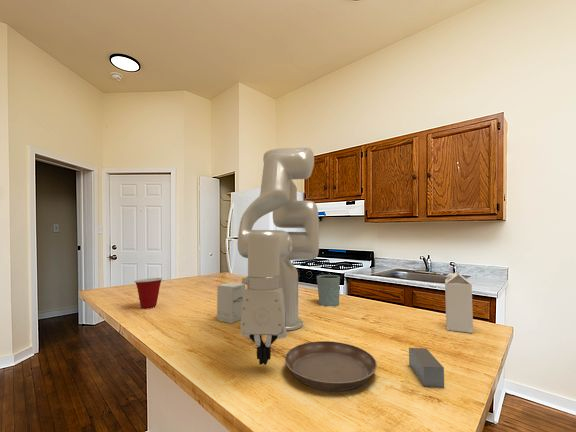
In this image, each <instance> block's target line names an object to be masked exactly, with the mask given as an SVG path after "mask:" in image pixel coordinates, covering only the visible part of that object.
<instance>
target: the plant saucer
mask: <svg viewBox="0 0 576 432" xmlns="http://www.w3.org/2000/svg"><path fill="white" fill-rule="evenodd" d="M284 362H285V364H286V367H287V368H288V370H289V371H290V373H292V375H293V376H294V377H295V378H296V379H298V380H299V382H301V383H303V384H304V385H307V386H308V387H311V388H314V389H316V390H317V389H318V390H323V391H328V390H330V391H329V392H332V391H333V392H341V391H343V392H344V391H349V390H352V389H353V390H354V389H356V388H358V387H360V386H363V385H364V384H365V383H366V382H368V381H369V380H370V379H371V377H373V375H374V374H375V372H376V370H377V368H378V363H377V361H376V359H375V357H374V356H373V355H372V354H371V353H369V351H366V350H364V349H363V348H360V347H359V346H355V345H353V344H348V343H344V342H338V341H328V340H327V341H326V340H325V341H324V340H321V341H319V340H318V341H310V342H306V343H305V342H304V343H302V344H298V345H296V346H294V347H292V348H290V350H288V351H287V352H286V354H285V357H284Z"/></svg>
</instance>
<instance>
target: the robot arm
mask: <svg viewBox="0 0 576 432" xmlns="http://www.w3.org/2000/svg"><path fill="white" fill-rule="evenodd" d="M314 166H315V154H314V152H313V150H312V149H311V147H289V148H288V147H284V148H283V147H282V148H273V149H269V150H266V152H264V154H263V168H262V175H261V184H260V193H259V196H258V197H256V198H255V200H253V202H251V203H250V204H249V205H248V207H246V209H245V211H244V212H243V214H242V216H241V218H240V222H239V227H238V233H237V234H238V235H237V251H238V253H239V255H240V256H241V257H242V258H245V259H247V276H246V277H241V284H245V286H246V287H247V288H246V287H245V290H244V294H243V300H242V310H241V320H240V335H241V337H245V338H247V339H248V338H249V340H251V341H252V342H253V343H254V345H255V347H256V359H257V360H259V361H258V363H259V364H258V365H263V366H266V365H267V363H268V361H269V360H271V356H272V353H271V352H272V351H271V349H272V344H273V343H275V341H277V340H281V339H285V338H286V337H287V331H294V330H299V329H301V328H302V327H303V326H304V320H302V319H301V318H299V272H298V270H297V268H296V266H295V265H294V264H293V263H292V262H291V261H304V260H305V261H309V260H310V261H312V260H315V259H317V257H318V256H319V251H320V238H319V237H320V236H319V235H320V233H319V231H320V230H319V228H320V227H319V225H320V223H319V221H320V220H319V209H318V206H317V204H316V203H315V202H314V201H313V200H298V197H297V196H298V194H297V193H298V192H297V191H298V189H297V185H296V183H295V182H294V181H293V180H307V179H309V178H310V177H311V176H312V174H313V170H314ZM270 213H272V222H273V225H274V226H275V227H276V228H280V229H281V230H280V229H253V227H254V226H255V223H257V222H258V220H260V219H261V218H262V217H264V216H266V215H268V214H270ZM282 228H283V229H304V230H305V231H285V230H282ZM263 336H266V337H265V342H264V340H263Z"/></svg>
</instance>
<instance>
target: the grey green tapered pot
mask: <svg viewBox="0 0 576 432" xmlns="http://www.w3.org/2000/svg"><path fill="white" fill-rule="evenodd" d="M316 283H317V294H318V304H319V305H320V306H322V305H323V307H327V306H333V307H337V306H339V305H340V287H341V286H340V283H341V276H340V275H338V274H337V275H336V274H335V275H334V274H319V275H316Z"/></svg>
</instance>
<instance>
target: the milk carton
mask: <svg viewBox="0 0 576 432" xmlns="http://www.w3.org/2000/svg"><path fill="white" fill-rule="evenodd" d="M445 277H446V279H445V280H444V289H445V292H444V293H445V294H444V295H445V297H444V298H445V324H446V329H447V331H452V332H460V333H468V334H474V319H473V318H474V314H473V288H472V287H473V286H472V285H473V284H471V283H472V282H470V281H469V280H468V279H466V278H465V277H464V276H463V275H461V274H460V270H458V268H455V272H454V273H452V272H449V273H448V274H447V275H446V276H445Z"/></svg>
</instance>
